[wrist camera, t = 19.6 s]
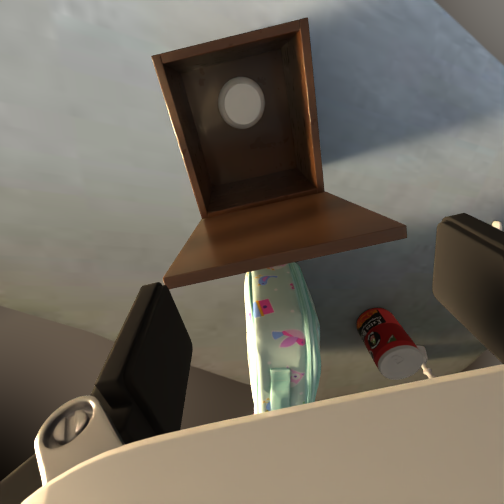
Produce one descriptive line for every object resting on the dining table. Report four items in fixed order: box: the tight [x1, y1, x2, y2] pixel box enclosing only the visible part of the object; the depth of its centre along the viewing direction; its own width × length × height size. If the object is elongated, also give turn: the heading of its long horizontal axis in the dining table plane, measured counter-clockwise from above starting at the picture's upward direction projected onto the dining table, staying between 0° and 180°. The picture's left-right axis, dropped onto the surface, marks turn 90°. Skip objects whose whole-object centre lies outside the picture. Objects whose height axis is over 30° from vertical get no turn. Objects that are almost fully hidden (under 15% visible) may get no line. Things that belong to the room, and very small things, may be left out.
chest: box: [151, 18, 324, 219], centre depth 36 cm, size 17×15×12 cm
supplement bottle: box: [218, 77, 265, 129], centre depth 35 cm, size 5×5×10 cm
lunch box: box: [244, 262, 321, 414], centre depth 48 cm, size 27×10×21 cm, turn 3°
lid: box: [163, 192, 407, 289], centre depth 26 cm, size 18×15×1 cm
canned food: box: [357, 308, 423, 379], centre depth 55 cm, size 8×8×11 cm
